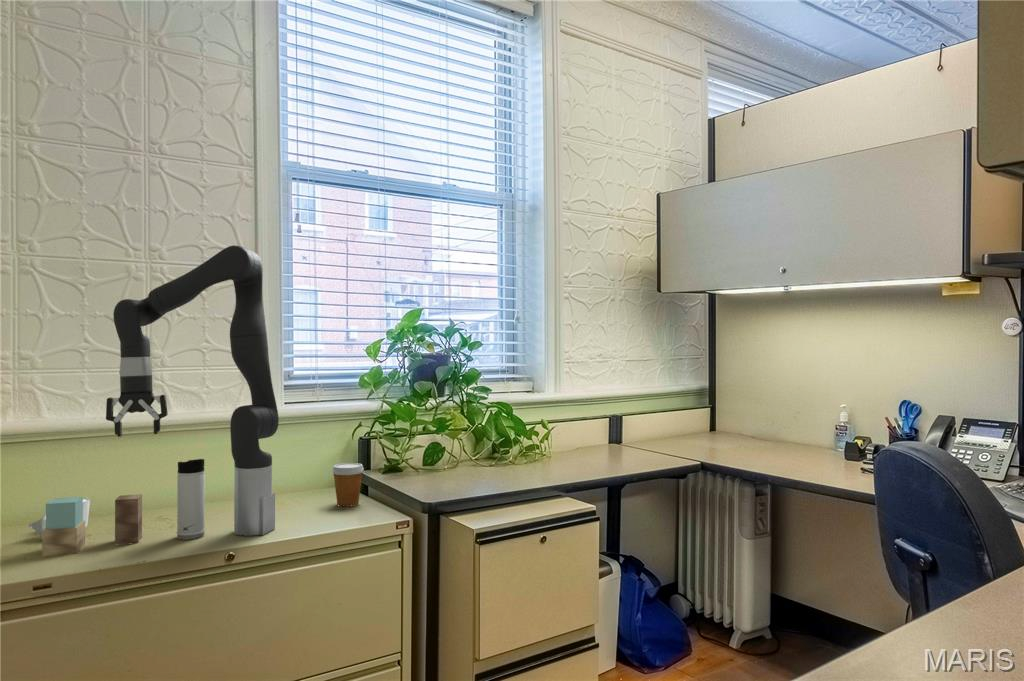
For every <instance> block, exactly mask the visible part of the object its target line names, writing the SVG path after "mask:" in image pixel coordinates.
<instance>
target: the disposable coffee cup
mask: <svg viewBox="0 0 1024 681" xmlns="http://www.w3.org/2000/svg"><path fill="white" fill-rule="evenodd" d="M364 470H365V469H364V466H363V464H362V463H357V462H344V463H343V462H342V463H336V464H335V465H333V468H332V469H331V472H332V474H333V480H334V489H335V496H336V504H337V506H338V505H339V506H338V507H341V506H351V505H356V504H358V505H359V504H360V503H359V502H360V496H361V495H360V494H361V486H362V478H363V472H364ZM356 506H357V505H356Z"/></svg>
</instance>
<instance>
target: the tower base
mask: <svg viewBox="0 0 1024 681" xmlns="http://www.w3.org/2000/svg"><path fill="white" fill-rule="evenodd" d="M41 540H42V541H41V543H42V544H41V545H42V546H41V556H42V557H47V556H46V555H49V556H58V555H57V554H61V555H69V554H68V553H73V554H78V553H79V552H80V551H81V549H83V547H85V545H86V527H85V521H82V522H81V523H80V524H79V525H78V526H76V527H75V528H62V529H48V530H46V528H45V529H44V530H42V538H41ZM79 550H80V551H79ZM78 551H79V552H78ZM77 552H78V553H77Z"/></svg>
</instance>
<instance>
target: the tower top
mask: <svg viewBox="0 0 1024 681" xmlns="http://www.w3.org/2000/svg"><path fill="white" fill-rule="evenodd" d="M83 499H84V498H83V496H70V497H55V498H53V499H51V500H49V501H47V502H46V503H45V513H46V530H48V529H62V528H75V527H76V526H78V525H79V524H80V523H81V522H82V521H83Z"/></svg>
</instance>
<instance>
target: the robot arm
mask: <svg viewBox="0 0 1024 681" xmlns="http://www.w3.org/2000/svg"><path fill="white" fill-rule="evenodd" d="M263 272H264V270H263V263H262V259H261V257H260V256H259V255H258V254H257V253H256V252H255V251H253V250H251V249H249V248H246V247H244V246H241V245H234V244H233V245H230V246H229V245H228V246H226V247H224V248H223V249H222V250H220V251H219V252H217V253H216V254H215V255H213V256H212V257H210V258H208V259H207V260H206V261H204V262H203V263H201V264H200V265H198V266H197V267H195V268H193V269H191V270H189V271H188V272H186V273H185V274H183V275H181V276H178V277H177V278H174V279H172V280H171V281H168V282H166V283H164V284H161V285H160V286H158V287H155V288H153V289H151V290H150V291H149V293H148V294H147V295H148V296H147V297H146V298H144V299H140V300H138V299H129V298H124V299H122V300H119V301H118V302H117V303H116V304H115V306H114V309H113V314H112V315H113V323H114V326H115V330H116V333H117V337H118V339H119V342H120V350H119V351H120V352H119V353H120V362H119V382H120V383H119V386H120V387H119V390H120V395H119V397H107V399H106V405H105V406H106V408H105V420H106V421H107V422H113V423H114V424H113V425H114V435H116V436H117V437H118V438H121V437H123V423H122V422H121V421H122V419H123V418H124V417H125V416H126V415H127V413H129V414H134V413H145V412H147V413H148V414H149V415H150V416H151V417H152V418H153V435H158V433H159V432H161V419H163V418H165V417H167V416H168V415H169V413H168V405H167V395H166V394H161V395H154V393H153V365H152V360H151V359H152V358H151V341H150V338H149V337H148V336H147V335H145V334H144V333H143V330H142V327H145V326H148V325H150V324H152V323H155V322H157V321H158V320H159V319H161V318H162V317H163V316H165V315H166V314H167V313H169V312H171V311H174V310H176V309H178V308H181V307H183V306H184V305H186V304H188V303H190V302H192V301H193V300H194V299H196V298H197V297H198V296H199V295H200V294H201V293H202V292H204V291H205V290H206V289H208V288H210V287H212V286H213V285H216V284H220V283H222V282H227V281H230V280H231V281H232V283H233V288H234V292H235V293H234V294H235V308H234V311H233V315H232V318H231V322H230V326H229V343H230V351H231V353H230V354H231V357H232V359H233V362H234V364H235V365H236V367H237V369H238V370H239V372H240V373H241V374H242V376H243V378H244V379H245V381H246V384H247V385H248V387H249V392H250V398H251V404H249V405H248V404H246V405H241V406H238V407H236V408H235V409H234V410H233V412H232V414H231V418H230V425H229V426H230V427H229V428H230V447H231V448H230V450H231V456H232V459H233V461H234V480H233V482H234V484H233V485H234V487H233V489H234V490H233V491H234V492H233V494H234V501H233V502H234V503H233V504H234V506H233V507H234V509H233V511H234V512H233V516H234V518H233V519H234V520H233V521H234V525H233V527H234V528H233V529H234V530H233V531H234V534H235V535H237V536H242V535H244V536H245V537H249V536H251V537H252V536H261V535H262V536H263V535H266V534H268V533H270V532H271V531H273V530H275V529H276V493H275V492H273V456H272V454H271V453H270V452H266V451H263V450H262V449H261V448H260V440H261V439H266V438H270V437H273V436H274V435H275V434H276V432H277V431H278V428H279V411H278V406H277V401H276V396H275V392H274V386H273V381H272V372H271V365H270V358H269V343H268V334H267V327H266V326H267V325H266V318H265V309H264V301H263V300H264V299H263V298H264V297H263V284H264V283H263V282H264V279H263V276H264V274H263ZM154 401H156V403H157V404H160V413H158V412H157V410H156V409H155V408H154V407H153V406H152V405H153V403H154ZM117 403H119V404H120V405H121V406H122V409H120V411H119V412H118V414H117V415H114V406H116V405H117ZM244 536H243V537H244Z"/></svg>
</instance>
